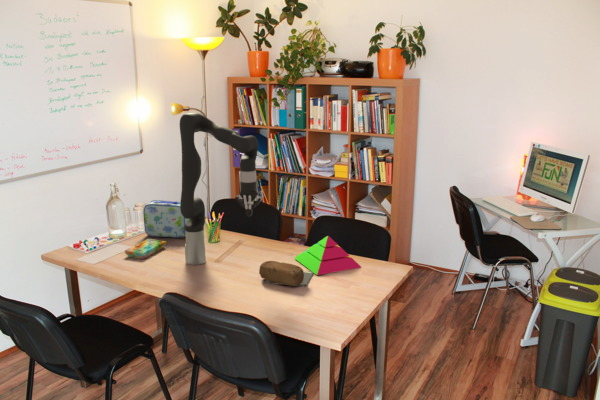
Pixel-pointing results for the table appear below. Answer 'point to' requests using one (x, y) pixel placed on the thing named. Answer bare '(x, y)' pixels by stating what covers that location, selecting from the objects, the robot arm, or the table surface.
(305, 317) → the table surface
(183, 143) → the robot arm
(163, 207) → the lunch box
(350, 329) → the table surface
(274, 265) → the brown rounded elongated part
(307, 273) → the mat
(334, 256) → the pyramid toy
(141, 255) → the puzzle game
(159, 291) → the table surface
